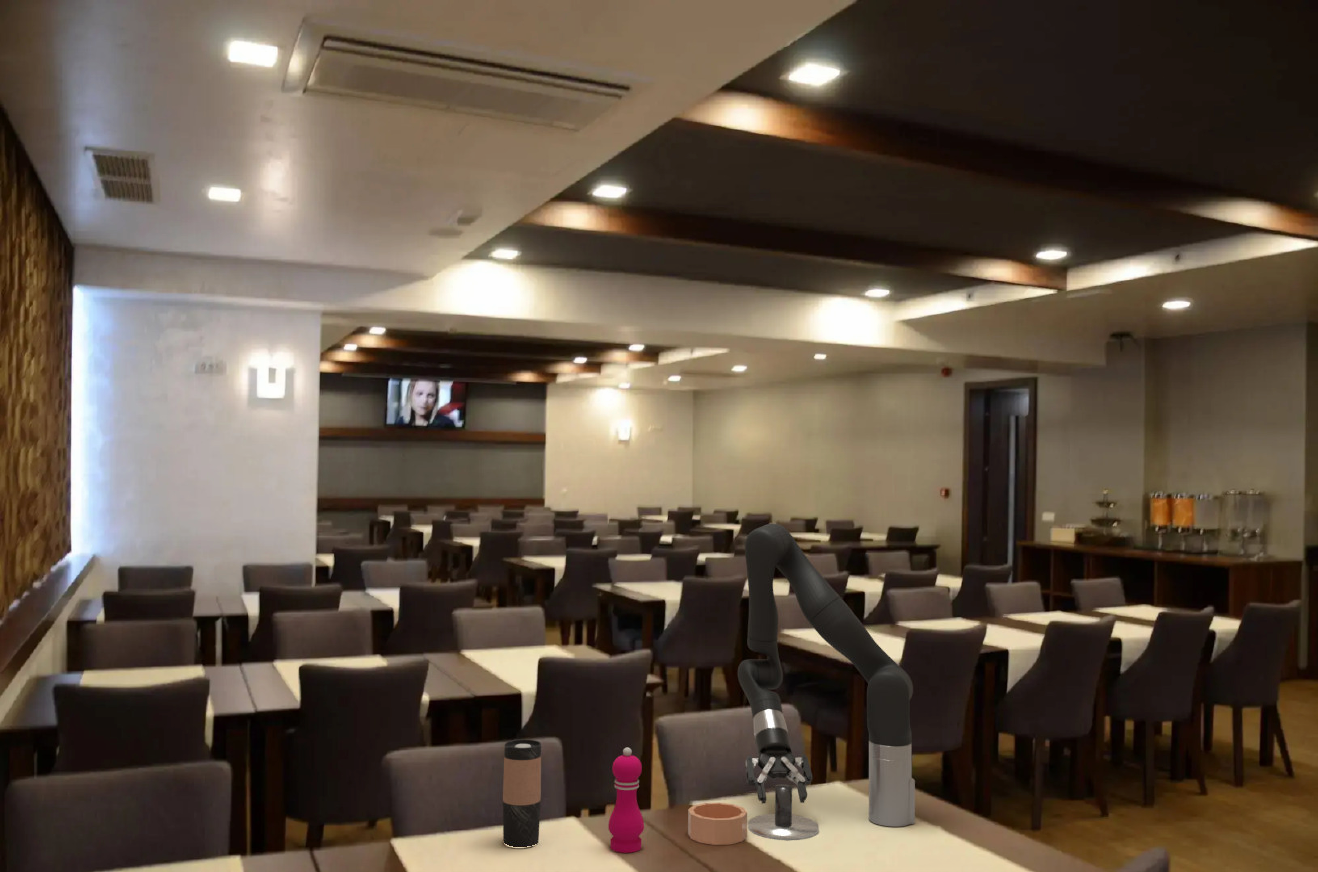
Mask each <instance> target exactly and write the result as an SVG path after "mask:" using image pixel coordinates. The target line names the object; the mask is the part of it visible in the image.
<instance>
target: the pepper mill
mask: <svg viewBox="0 0 1318 872" xmlns="http://www.w3.org/2000/svg"><path fill="white" fill-rule="evenodd" d="M632 752H633V751H632V749H631V748H630V747H625V748H623V750H622V755H619V756H617V758H615V760H614V761H613V763H612V769H611V770H612V774H613V776H614V777H615V779H614V788H615V789H616V801H615V805H614V808H613V810H612V811H611V814H610V816H609V820H608V827H607V828H608V831H609V833H610V834H611V835H612V836H611V838H610V849H611V850H612V851H613V852H616V853H622V854H629V853H636V852H639V851H641V849H642V838H641V837H640V836H641V834H642V833H644V829H645V821H644V818H643V815H642V813H641V810H640V807H639V805H638V800H637V799H638V798H637V791H638V788H639V787H640V785H639V783H640V780H639V779H638V778H639V777H641V774H642V772H643V771H642V770H643V767H642V766H643V765H642V762H641V761H640V759H639V758H638V757H637V756H635V755H632Z"/></svg>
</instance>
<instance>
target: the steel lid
mask: <svg viewBox="0 0 1318 872" xmlns="http://www.w3.org/2000/svg"><path fill="white" fill-rule="evenodd" d="M774 792H775V793H774V802H775V803H774V813H767V814H762V815H757V816H755V817H751V819H749V820H748V821H747V829H748V830H749V831H750V832H751V833H752V834H754V835H756V836H758V837H762V838H766V839H770V840H771V839H772V840H778V841H800V840H801V841H802V840H805V839H810V838H813V837H816V836H817V835H818V834H819V832H820V831H819V829H820V828H819V824H818V822H816V821H815V820H813V819H811V818H808V817H804V816H802V815H797V814H793V787H792V785H789V784H785V783H784V784H783V783H781V784H776V785H775V787H774Z"/></svg>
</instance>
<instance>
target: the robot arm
mask: <svg viewBox="0 0 1318 872" xmlns="http://www.w3.org/2000/svg"><path fill="white" fill-rule="evenodd" d="M744 553H745V554H744V555H745V565H746V574H747V585H748V624H747V640H746V641H747V647H748V648H749V650H751V651H753V652H756V653H759V654H763V655H766V656H767V657H766V659H765V658H763V659H762V658H761V659H754V658H753V659H751V658H750V659H744V660H742V661H741V662H740V664H739V665H738V667H737V678H738V679H737V680H738V682H739V685H740V687H741V688H742V691H743V692H744V694H745V697H746V699H747V700H748V703H749V705H750V708H751V709H750V710H751V716H752V721H753V736H754V740H755V744H756V746H755V747H756V752H757V756H758V757H757V758H756V757H754V758H753V757H752V756H751V755H746V759H745V763H744V765H745V767H744V768H745V777H746V785H747V786H749V787H751V786H752V787H755V788H756V794H757V795H756V796H757V799H758V801H759V802H761V804H766V802H767V792H766V788H765V782H766V780H767V778H768V777H770V778H771V779H776V778H779V779H780V778H781V779H785V778H787V779H788V780H789V781H790V782H793V783H794V784H795V785H796V786H797V793H798V800H799V803H800V804H804V803H805V801H806V799H807V797H808V791H807V786H809V785H810V784H811V782H812V781H813V773H812V769H811V766H810V763H809V762H810V761H809V759H808V758H809V757H808V756H807V754H802V755H801V756H800V757H799V756H798V757H795V756H794V755H793V751H792V746H791V741H790V737H789V731H788V726H787V722H786V720H785V716H784V711H783V707H782V703H781V702H782V701H781V698H780V696H779V694H778V692H777V693H776V692H775V691H773V690H776V689H778V688H779V687H780V686H781V684H783V683H782V682H783V679H784V677H783V676H784V675H783V669H782V665H781V662H780V657H779V651H778V636H779V635H778V633H779V611H778V607H777V604H776V603H777V602H776V599H775V593H774V575H775V571H776V568H777V570H778V571H779V572H780V573H781V574H782V575H783V576H784V577H785V578H786V580H787V582H788V583H789V584H790V585H791V587H792V590H793V592H794V595H795V597H796V600H797V603H798V605H799V607H800V610H801V612H802V614H803V617H804V618H806V620H807V622H808V623H809V624H810V625H811V627H812V628H813V629H814V630H815V631H816V632H817V634H818V635H819V636H820V637H821V638H822V639H823V640H824V641H825V642H826V643H828V645H830V646H831V647H832V648H833V649H834V650H835V651H836V652H838V653H840V654H841V655H842V656H843V657H845V658H846V659H847V660H848V661H849V662H850V663H852V665H854V667H855V668H856V669H857V671H858V672H859V673H860V674H861V675H862V677H863V678H864V680H865V681H866V682H867V684H868V685H867V689H866V721H867V731H868V820H869V821H870V822H872V823H873V824H876V825H880V826H884V827H894V828H895V827H896V828H897V827H905V826H909V825H914V824H916V817H915V816H916V812H915V811H916V810H915V809H916V794H915V793H916V787H915V784H916V780H915V779H914V778H913V777H912V730H911V723H910V720H911V719H910V718H911V717H910V714H911V713H910V710H911V708H910V707H911V705H910V700H911V699H912V696H913V693H914V685H913V681H912V679H911V677H910V675H909V674H908V673H907V672H906V671H905V670H904V669H903V668H902V667H901V666H900V665H899V664H898V663H897V662H896V661H895V660H893V658H891V656H890V655H888V653H886V652H885V650H883V649H882V648H881V646H879V644H878V643H877V642H876V640H875V639H874V638H873V637H872V636H871V634H870V633H869V632H868V630H867V628H866V627H865V626H864V624H863V623H862V622H861V621H860V619H859V618H858V617H857V616H856V615H855V614H854V612H853V610H852V609H851V608H850V606H848V604H847V603H846V602H845V601H844V600H843V598H842V597H841V596H840V594H838V593H837V591H835V589H834V588H833V587H832V586H831V585H830V584H829V582H828V581H827V580H826V579H825V578H824V577H823V575H822V574H821V573H820V572H819V571H818V570H817V568H815V566H814V565H813V564H812V563H811V561H810V560H809V559H808V557H807V556H806V554H805V553H804V552H803V550H802V548H801V547H800V546H799V543H797V541H796V540H795V538H794V537H793V535H792V534H791V533H790V531H789V530H788V529H787V528H785V527H784V526H783V525H781V524H778V523H775V522H774V523H767V524H765V525H762V526H760V527H758V528H755V529H753V530H752V531H751V532H749V533H748V535H746V539H745V542H744ZM795 764H796V765H797V766H798V768H799V769H801V772H802V773H800V772H799V770H798V769H797V768H796V767H795ZM756 766H758V767H759V768H760V769H761V770H762V771H761V773H760V774H759V776H758V777H755V773H754V770H755V767H756Z"/></svg>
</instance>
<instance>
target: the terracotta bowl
mask: <svg viewBox="0 0 1318 872" xmlns="http://www.w3.org/2000/svg"><path fill="white" fill-rule="evenodd" d="M687 811H688V812H687V813H688V815H687V817H688V819H687V821H688V822H687V834H688V837H689V839H691V840H693V841H695V842H697V843H700V844H707V845H713V846H723V845H724V846H725V845H735V844H738V843H742V842H744V840H746V838H748V811H747V810H746V809H745V808H744V807H742V806H739V805H738V804H734V803H726V802H703V803H699V804H694V805H692V806H691V807H690V808H688V810H687Z"/></svg>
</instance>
